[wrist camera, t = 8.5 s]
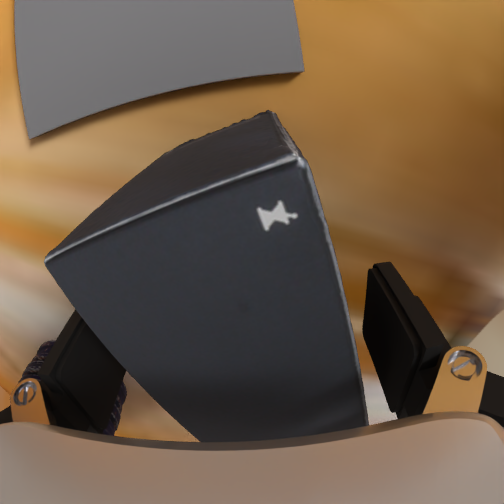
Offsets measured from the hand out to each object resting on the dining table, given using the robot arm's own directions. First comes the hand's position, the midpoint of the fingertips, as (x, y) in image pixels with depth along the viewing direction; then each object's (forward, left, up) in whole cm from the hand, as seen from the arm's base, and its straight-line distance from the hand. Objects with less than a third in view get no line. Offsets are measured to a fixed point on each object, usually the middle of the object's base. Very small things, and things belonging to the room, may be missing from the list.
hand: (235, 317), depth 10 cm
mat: (+4, -17, -7) cm, 19 cm away
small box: (0, 0, -8) cm, 7 cm away
